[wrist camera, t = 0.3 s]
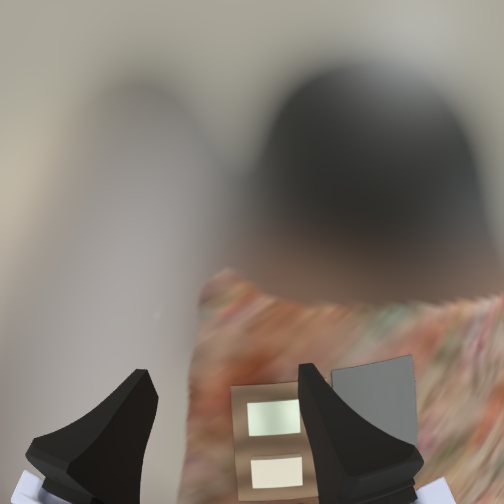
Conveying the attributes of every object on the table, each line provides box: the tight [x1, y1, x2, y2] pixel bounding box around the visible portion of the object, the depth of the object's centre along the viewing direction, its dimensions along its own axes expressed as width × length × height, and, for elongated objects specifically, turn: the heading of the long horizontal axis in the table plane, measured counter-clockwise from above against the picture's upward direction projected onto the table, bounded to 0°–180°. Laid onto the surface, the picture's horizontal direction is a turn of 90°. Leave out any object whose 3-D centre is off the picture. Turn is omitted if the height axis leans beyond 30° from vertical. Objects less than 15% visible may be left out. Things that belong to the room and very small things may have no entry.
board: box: [231, 378, 327, 501], centre depth 32 cm, size 20×14×2 cm
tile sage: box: [247, 398, 300, 436], centre depth 33 cm, size 5×7×2 cm
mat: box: [331, 355, 417, 448], centre depth 32 cm, size 22×14×1 cm, turn 3°
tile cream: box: [251, 453, 303, 488], centre depth 29 cm, size 5×7×2 cm
